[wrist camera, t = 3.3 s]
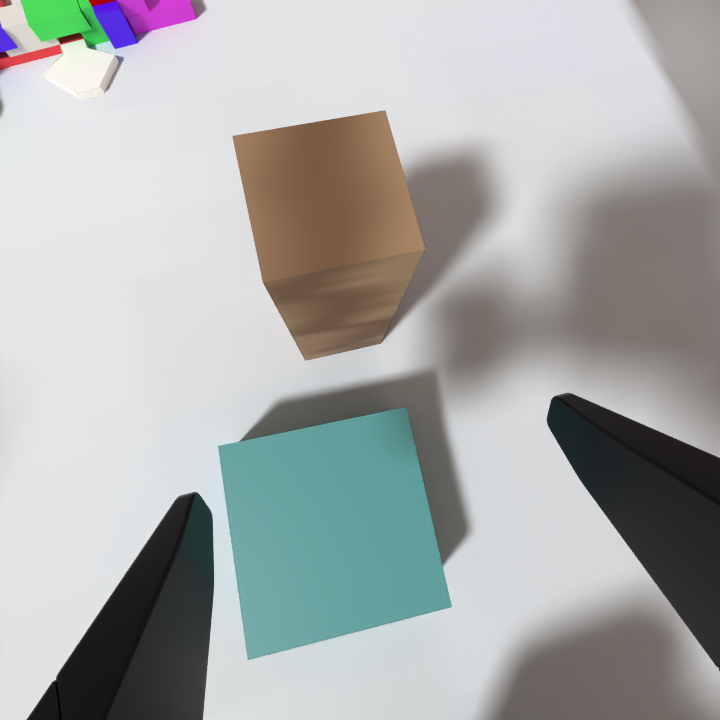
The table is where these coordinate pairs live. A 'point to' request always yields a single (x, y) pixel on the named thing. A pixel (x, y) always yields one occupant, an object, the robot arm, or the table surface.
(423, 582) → the teal base block
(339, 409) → the table surface
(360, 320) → the walnut pillar
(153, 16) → the building block set
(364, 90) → the table surface
